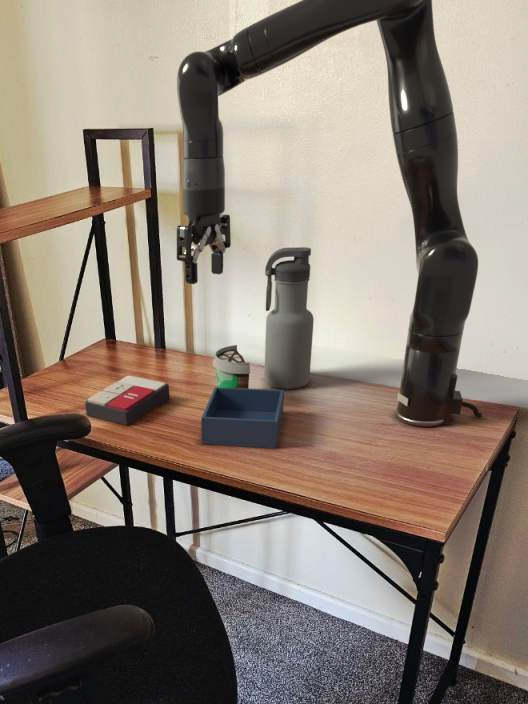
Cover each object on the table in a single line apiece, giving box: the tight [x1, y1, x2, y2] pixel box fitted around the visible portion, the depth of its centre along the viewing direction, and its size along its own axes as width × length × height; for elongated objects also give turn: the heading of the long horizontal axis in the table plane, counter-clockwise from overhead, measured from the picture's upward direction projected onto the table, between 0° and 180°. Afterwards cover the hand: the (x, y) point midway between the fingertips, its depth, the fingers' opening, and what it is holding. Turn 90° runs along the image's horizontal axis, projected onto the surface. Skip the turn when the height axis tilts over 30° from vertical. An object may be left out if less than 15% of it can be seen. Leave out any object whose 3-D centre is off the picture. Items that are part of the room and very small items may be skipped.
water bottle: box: [263, 246, 315, 390], centre depth 148 cm, size 10×10×28 cm
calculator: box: [84, 375, 170, 426], centre depth 147 cm, size 11×4×15 cm
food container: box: [212, 344, 251, 389], centre depth 146 cm, size 12×6×10 cm, turn 6°
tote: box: [200, 386, 285, 449], centre depth 135 cm, size 14×15×5 cm
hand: (204, 278), depth 134 cm, fingers open, 8 cm apart
